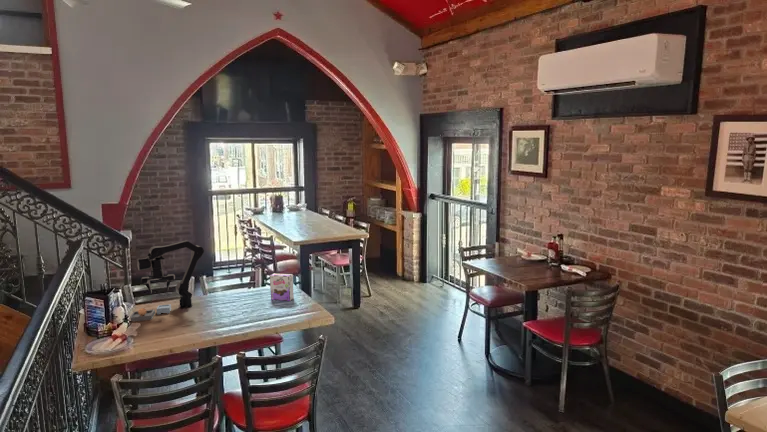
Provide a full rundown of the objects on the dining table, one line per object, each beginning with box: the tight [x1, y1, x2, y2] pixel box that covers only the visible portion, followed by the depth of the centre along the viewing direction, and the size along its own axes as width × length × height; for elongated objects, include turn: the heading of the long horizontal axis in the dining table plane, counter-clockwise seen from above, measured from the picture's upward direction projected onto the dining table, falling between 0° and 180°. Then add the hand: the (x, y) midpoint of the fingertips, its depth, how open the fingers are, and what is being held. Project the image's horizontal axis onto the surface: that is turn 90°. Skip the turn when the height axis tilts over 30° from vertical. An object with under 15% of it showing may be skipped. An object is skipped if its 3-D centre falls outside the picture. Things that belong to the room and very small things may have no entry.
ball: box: [138, 308, 146, 316], centre depth 311 cm, size 4×4×4 cm
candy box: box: [269, 272, 295, 302], centre depth 339 cm, size 14×6×16 cm, turn 73°
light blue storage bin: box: [156, 303, 172, 315], centre depth 320 cm, size 7×7×4 cm
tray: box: [129, 309, 156, 322], centre depth 311 cm, size 12×12×2 cm
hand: (159, 292), depth 321 cm, fingers open, 9 cm apart
